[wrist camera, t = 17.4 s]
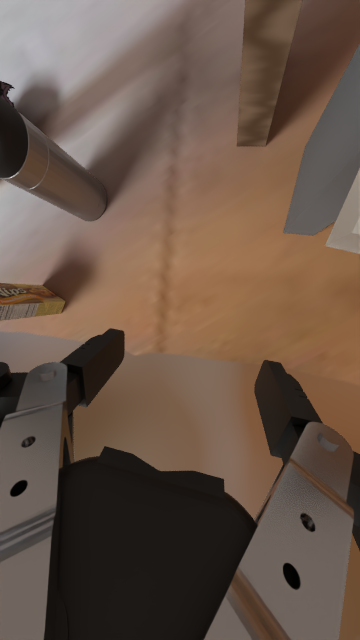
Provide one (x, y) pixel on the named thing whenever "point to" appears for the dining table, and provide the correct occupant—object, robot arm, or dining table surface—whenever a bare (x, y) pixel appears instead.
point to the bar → (348, 222)
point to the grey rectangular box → (329, 159)
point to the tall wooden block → (263, 64)
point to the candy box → (27, 301)
